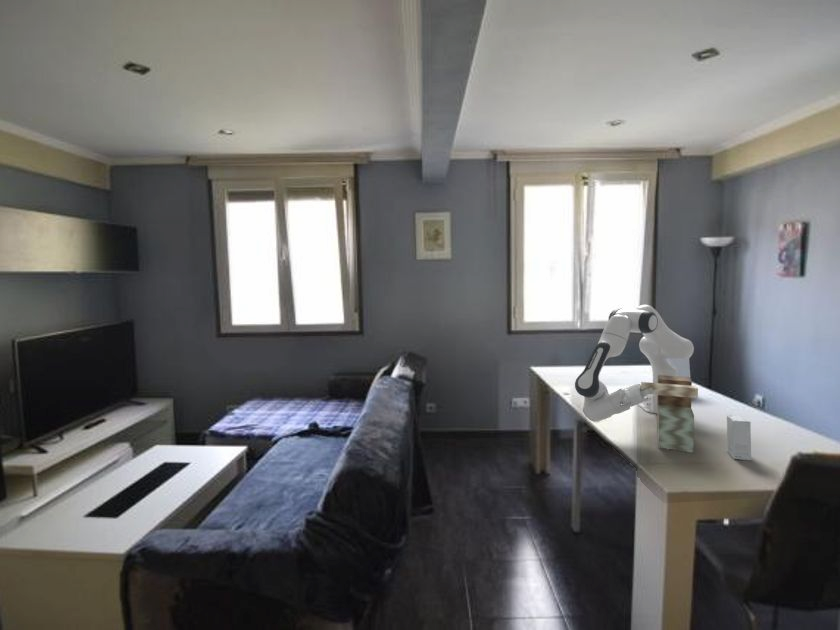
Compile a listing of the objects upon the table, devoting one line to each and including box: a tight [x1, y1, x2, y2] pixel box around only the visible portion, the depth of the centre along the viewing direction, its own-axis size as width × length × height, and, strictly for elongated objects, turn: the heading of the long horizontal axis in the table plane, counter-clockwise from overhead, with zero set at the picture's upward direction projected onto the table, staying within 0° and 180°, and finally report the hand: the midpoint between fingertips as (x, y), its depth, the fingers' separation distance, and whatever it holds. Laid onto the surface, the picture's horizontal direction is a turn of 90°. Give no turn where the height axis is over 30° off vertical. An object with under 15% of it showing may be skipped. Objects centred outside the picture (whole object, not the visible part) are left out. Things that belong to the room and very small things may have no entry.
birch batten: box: [640, 381, 699, 399], centre depth 178 cm, size 20×4×4 cm, turn 63°
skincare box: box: [726, 415, 752, 462], centre depth 166 cm, size 8×6×15 cm
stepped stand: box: [656, 375, 695, 453], centre depth 181 cm, size 12×20×26 cm, turn 153°
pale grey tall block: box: [667, 358, 691, 378], centre depth 256 cm, size 15×15×28 cm
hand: (652, 387), depth 180 cm, fingers closed on birch batten, 4 cm apart
